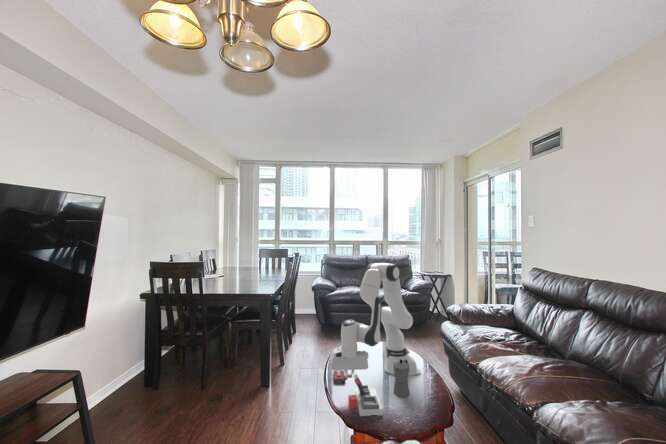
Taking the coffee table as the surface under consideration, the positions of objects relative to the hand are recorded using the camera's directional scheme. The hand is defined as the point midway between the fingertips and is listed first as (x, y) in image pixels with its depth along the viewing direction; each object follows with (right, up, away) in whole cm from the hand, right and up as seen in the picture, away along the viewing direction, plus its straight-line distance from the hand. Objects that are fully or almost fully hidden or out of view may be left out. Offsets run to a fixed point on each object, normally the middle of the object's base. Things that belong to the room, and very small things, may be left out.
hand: (349, 377), depth 160 cm
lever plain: (+8, -7, 0) cm, 11 cm away
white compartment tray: (+9, -10, -7) cm, 15 cm away
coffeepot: (+30, -11, +5) cm, 32 cm away
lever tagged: (+8, -7, -6) cm, 12 cm away
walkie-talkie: (-4, -12, +23) cm, 26 cm away
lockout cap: (+1, -10, -8) cm, 13 cm away
